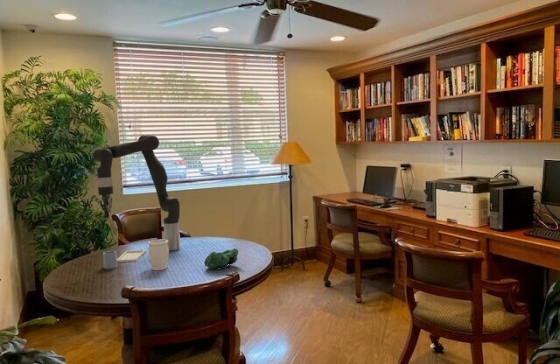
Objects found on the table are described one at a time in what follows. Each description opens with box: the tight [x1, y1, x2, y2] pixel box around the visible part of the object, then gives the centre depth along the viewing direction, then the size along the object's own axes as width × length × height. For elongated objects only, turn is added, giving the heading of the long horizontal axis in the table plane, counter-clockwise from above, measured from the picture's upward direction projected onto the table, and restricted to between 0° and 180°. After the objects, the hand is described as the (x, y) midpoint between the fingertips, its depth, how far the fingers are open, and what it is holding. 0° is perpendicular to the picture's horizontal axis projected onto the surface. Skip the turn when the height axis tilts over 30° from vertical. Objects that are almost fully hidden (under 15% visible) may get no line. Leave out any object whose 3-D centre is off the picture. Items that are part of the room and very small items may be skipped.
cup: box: [102, 250, 118, 270], centre depth 234 cm, size 7×7×9 cm
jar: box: [147, 238, 170, 271], centre depth 232 cm, size 11×10×15 cm
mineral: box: [204, 247, 239, 270], centre depth 231 cm, size 18×16×10 cm
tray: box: [117, 249, 147, 263], centre depth 255 cm, size 12×22×2 cm, turn 5°
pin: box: [106, 211, 118, 235], centre depth 235 cm, size 6×2×16 cm, turn 95°
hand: (107, 216), depth 235 cm, fingers closed on pin, 2 cm apart
